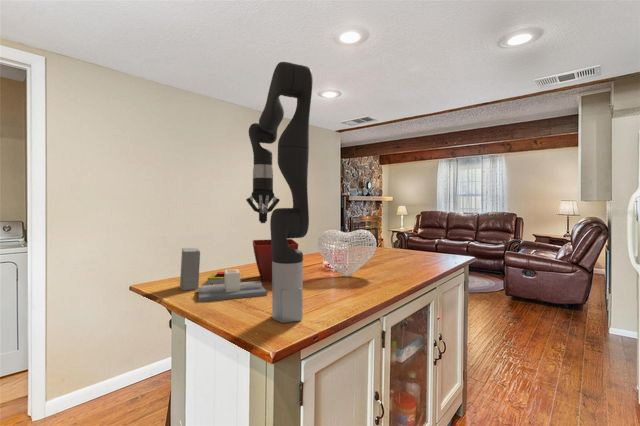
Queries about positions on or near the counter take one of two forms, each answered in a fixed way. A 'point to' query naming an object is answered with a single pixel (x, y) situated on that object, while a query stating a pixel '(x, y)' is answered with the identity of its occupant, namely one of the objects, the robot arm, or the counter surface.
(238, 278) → the block
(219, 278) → the emergency button
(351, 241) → the heart
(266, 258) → the plant pot
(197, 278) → the skincare box
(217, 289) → the rail
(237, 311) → the counter surface
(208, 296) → the rail board
